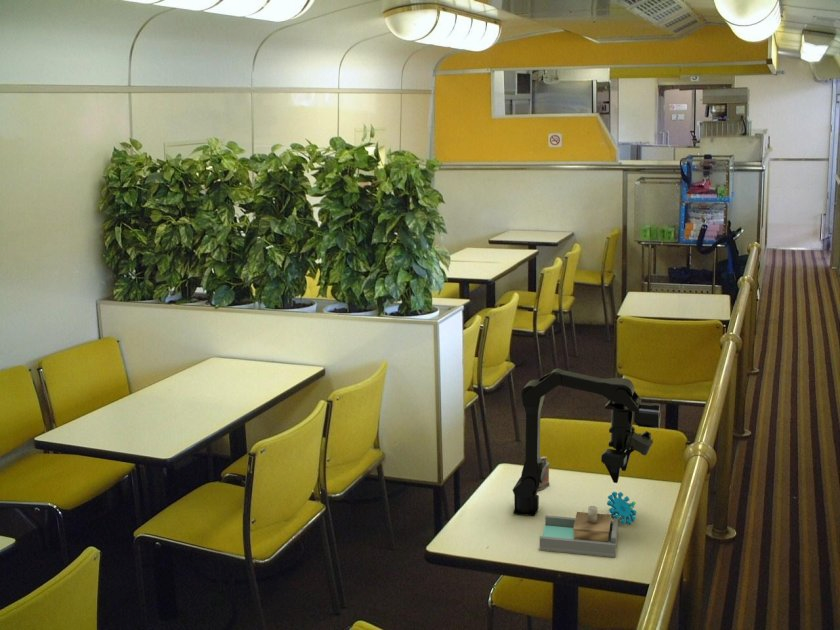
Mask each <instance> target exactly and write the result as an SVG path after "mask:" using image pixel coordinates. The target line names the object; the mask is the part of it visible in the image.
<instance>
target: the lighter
mask: <svg viewBox="0 0 840 630" xmlns="http://www.w3.org/2000/svg"><path fill="white" fill-rule="evenodd" d="M540 459H541V461H542V463H543V462H546V469H545V470H546V474H547V475H546V477H545V478H544V480H543V482H542V483H541V484H540V486H539V488H538V489H537V493H539V492H542V491H544V490H546V489H547V488H549V487H550V466H551V465H550V462H548V461H547V456H546V455H545V456H540Z"/></svg>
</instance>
